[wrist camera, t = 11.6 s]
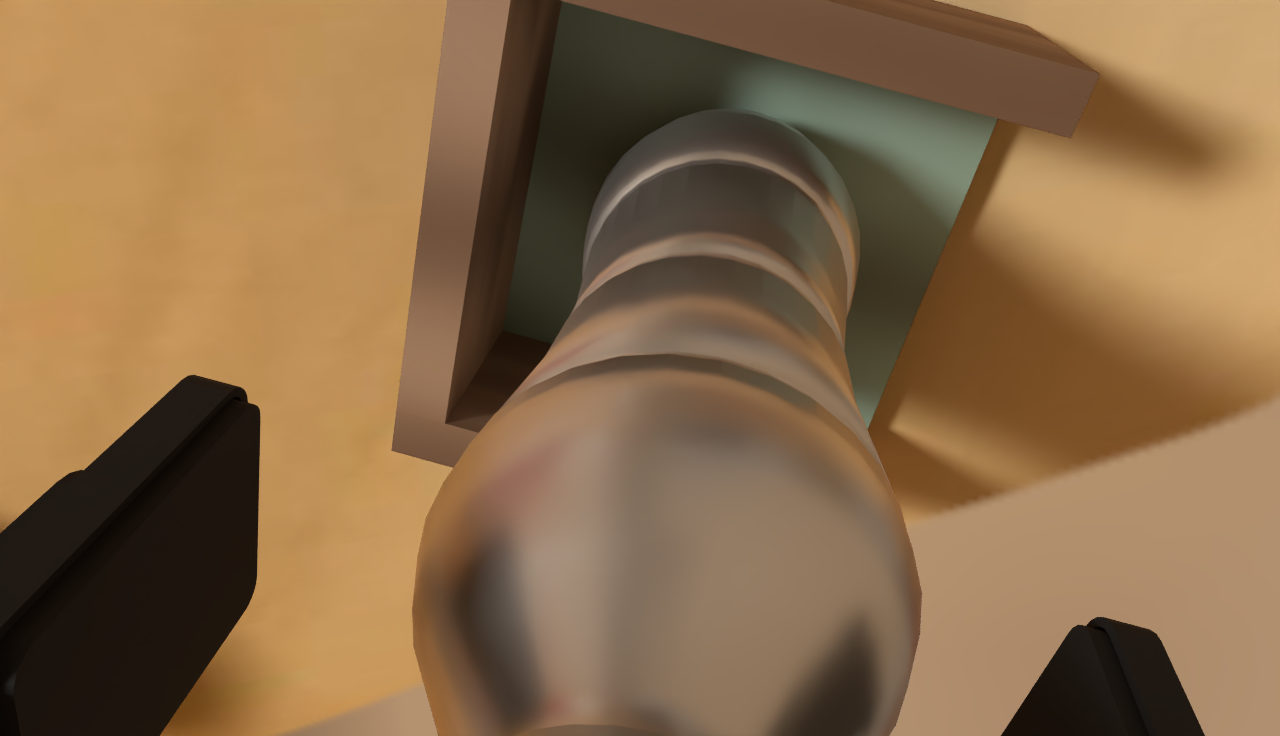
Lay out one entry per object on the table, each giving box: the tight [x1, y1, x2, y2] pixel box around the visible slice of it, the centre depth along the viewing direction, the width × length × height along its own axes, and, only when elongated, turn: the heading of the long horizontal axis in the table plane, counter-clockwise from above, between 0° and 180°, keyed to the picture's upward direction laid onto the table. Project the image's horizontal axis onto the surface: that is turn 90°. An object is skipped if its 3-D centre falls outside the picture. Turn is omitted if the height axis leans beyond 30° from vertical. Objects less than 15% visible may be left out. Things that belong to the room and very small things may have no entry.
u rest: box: [392, 0, 1100, 468], centre depth 23 cm, size 12×12×6 cm
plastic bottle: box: [412, 108, 922, 736], centre depth 16 cm, size 6×7×20 cm
